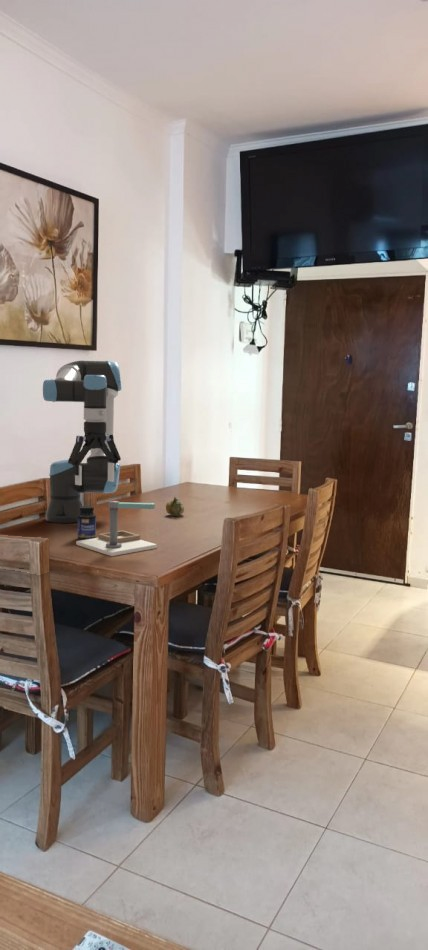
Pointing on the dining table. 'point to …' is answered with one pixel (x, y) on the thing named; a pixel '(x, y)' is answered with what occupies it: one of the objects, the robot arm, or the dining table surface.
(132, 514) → the dining table surface
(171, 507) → the onion
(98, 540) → the base board
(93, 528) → the pill bottle
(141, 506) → the keeper arm
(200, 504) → the dining table surface
